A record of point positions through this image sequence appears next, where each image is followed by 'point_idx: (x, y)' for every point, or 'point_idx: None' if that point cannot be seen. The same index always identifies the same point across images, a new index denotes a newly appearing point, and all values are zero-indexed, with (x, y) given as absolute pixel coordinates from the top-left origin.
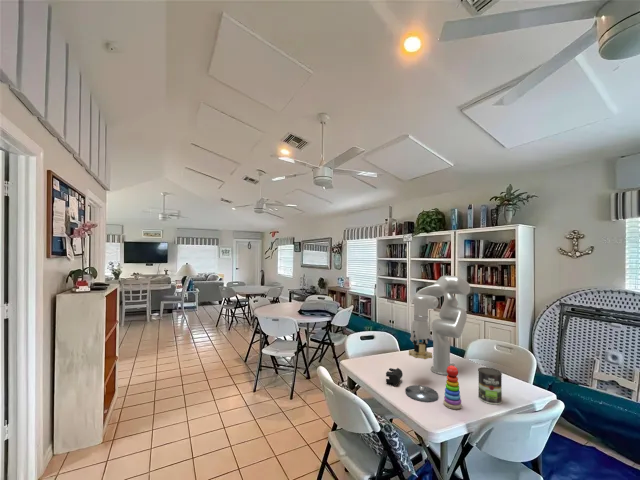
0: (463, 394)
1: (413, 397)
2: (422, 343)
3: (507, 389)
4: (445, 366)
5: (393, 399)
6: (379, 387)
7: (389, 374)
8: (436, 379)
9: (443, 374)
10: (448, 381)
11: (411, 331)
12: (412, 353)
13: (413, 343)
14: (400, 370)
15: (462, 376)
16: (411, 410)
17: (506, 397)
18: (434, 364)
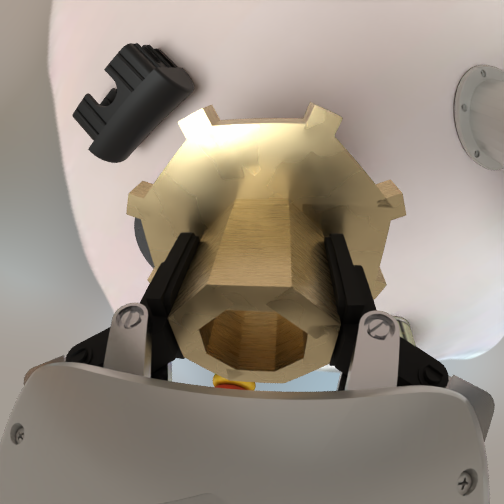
0: None
1: (144, 253)
2: (305, 341)
3: (477, 315)
4: (500, 163)
5: (87, 224)
6: (72, 130)
7: (83, 128)
8: (397, 159)
9: (465, 150)
10: (214, 385)
11: (2, 475)
12: (148, 241)
13: (119, 313)
14: (165, 93)
15: (500, 203)
16: (115, 286)
17: (427, 339)
18: (489, 102)
